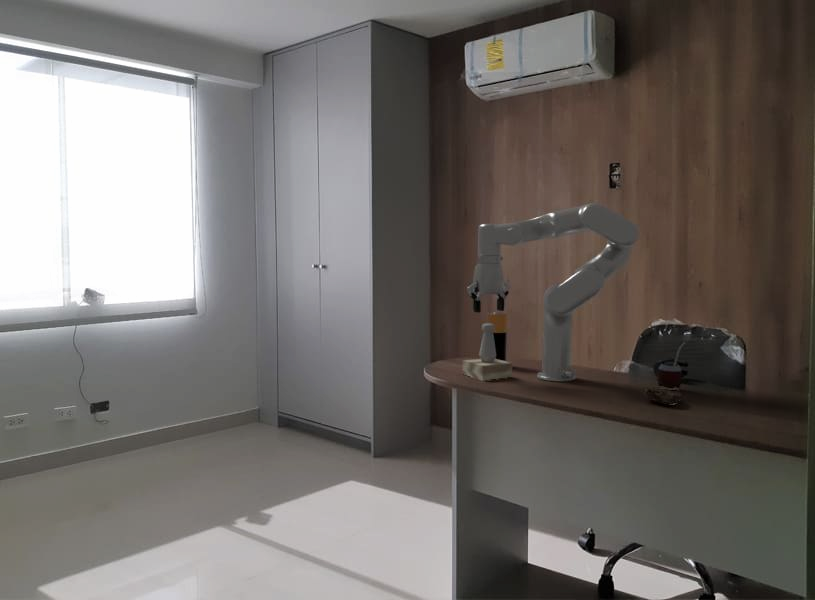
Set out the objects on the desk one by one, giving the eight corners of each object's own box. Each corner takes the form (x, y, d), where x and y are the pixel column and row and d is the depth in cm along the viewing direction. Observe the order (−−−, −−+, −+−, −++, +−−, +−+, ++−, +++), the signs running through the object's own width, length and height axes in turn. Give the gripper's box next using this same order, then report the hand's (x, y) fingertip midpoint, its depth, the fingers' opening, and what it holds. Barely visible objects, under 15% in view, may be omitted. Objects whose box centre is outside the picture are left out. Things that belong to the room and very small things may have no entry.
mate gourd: (655, 390, 211) (657, 343, 210) (658, 386, 218) (660, 339, 217) (681, 393, 208) (683, 345, 207) (683, 388, 215) (685, 341, 214)
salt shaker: (478, 362, 229) (479, 324, 228) (479, 359, 235) (479, 322, 234) (496, 363, 228) (496, 325, 227) (496, 360, 234) (496, 322, 233)
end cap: (669, 376, 235) (670, 356, 235) (688, 379, 230) (689, 359, 229) (652, 379, 229) (653, 359, 229) (671, 383, 224) (672, 362, 223)
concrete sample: (667, 410, 188) (668, 392, 188) (636, 402, 196) (637, 385, 196) (691, 404, 194) (692, 387, 194) (661, 397, 203) (661, 381, 202)
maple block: (511, 377, 230) (512, 363, 229) (482, 381, 224) (482, 366, 223) (490, 371, 240) (490, 357, 240) (462, 374, 234) (462, 360, 234)
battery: (503, 364, 254) (504, 311, 252) (507, 367, 247) (509, 313, 245) (484, 364, 254) (485, 311, 252) (488, 368, 247) (489, 313, 245)
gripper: (503, 260, 236) (502, 309, 237) (461, 260, 228) (461, 311, 229) (516, 260, 229) (516, 310, 231) (474, 261, 221) (474, 313, 222)
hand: (488, 311), depth 230 cm, fingers open, 9 cm apart
